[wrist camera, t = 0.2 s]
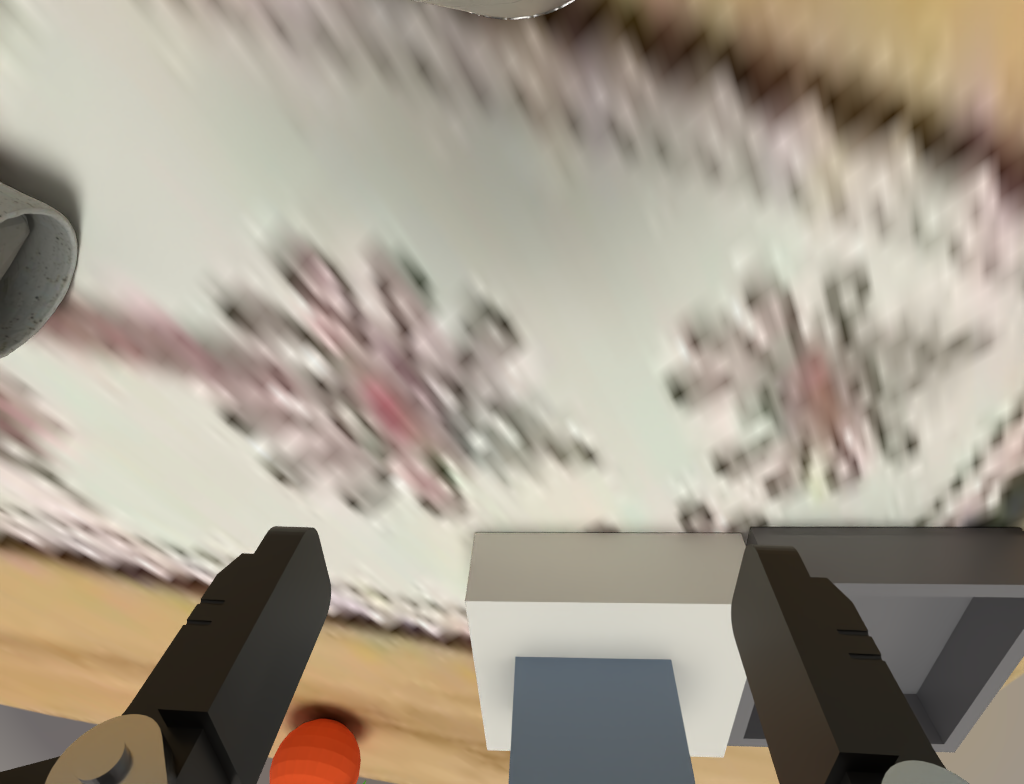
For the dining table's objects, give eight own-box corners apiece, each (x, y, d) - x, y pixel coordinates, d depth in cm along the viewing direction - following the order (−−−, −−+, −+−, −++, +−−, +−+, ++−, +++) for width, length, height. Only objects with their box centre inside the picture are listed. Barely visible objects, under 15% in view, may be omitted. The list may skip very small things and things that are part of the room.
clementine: (367, 698, 46) (340, 798, 40) (392, 742, 50) (371, 840, 44) (276, 703, 47) (236, 801, 41) (307, 746, 51) (275, 841, 45)
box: (750, 527, 34) (773, 582, 30) (1020, 527, 33) (1074, 585, 29) (712, 689, 43) (726, 745, 39) (921, 693, 42) (954, 752, 38)
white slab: (474, 532, 35) (464, 601, 31) (740, 533, 34) (768, 604, 30) (493, 680, 44) (487, 750, 40) (706, 685, 43) (723, 757, 38)
